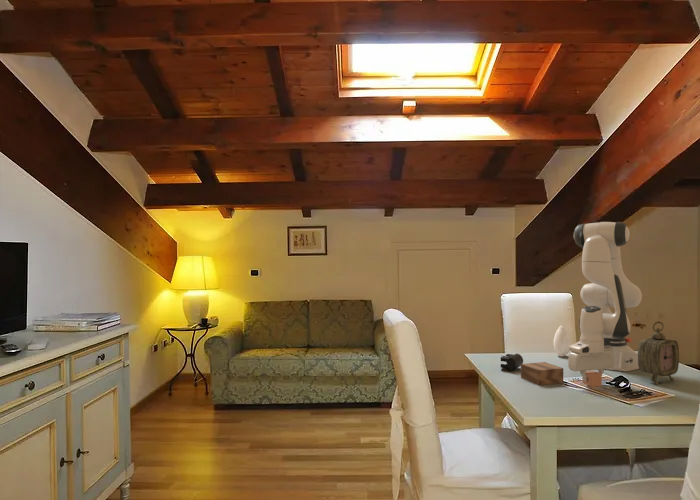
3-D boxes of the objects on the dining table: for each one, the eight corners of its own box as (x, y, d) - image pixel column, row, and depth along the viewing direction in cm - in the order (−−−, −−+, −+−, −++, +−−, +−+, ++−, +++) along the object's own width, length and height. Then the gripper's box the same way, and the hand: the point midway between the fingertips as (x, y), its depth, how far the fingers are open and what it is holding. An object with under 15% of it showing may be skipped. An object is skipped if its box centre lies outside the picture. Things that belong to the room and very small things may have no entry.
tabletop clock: (657, 386, 205) (657, 324, 205) (636, 381, 213) (635, 321, 213) (679, 381, 212) (678, 321, 212) (657, 377, 220) (657, 318, 220)
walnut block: (544, 375, 223) (544, 361, 223) (563, 382, 212) (563, 368, 212) (520, 377, 220) (520, 363, 220) (538, 385, 209) (538, 370, 208)
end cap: (515, 373, 229) (515, 358, 229) (500, 370, 233) (500, 355, 233) (523, 368, 237) (523, 354, 237) (508, 366, 241) (508, 352, 241)
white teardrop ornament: (572, 358, 258) (572, 322, 257) (557, 358, 258) (556, 322, 257) (566, 354, 265) (566, 320, 265) (551, 354, 265) (550, 320, 265)
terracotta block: (592, 382, 212) (592, 370, 212) (601, 385, 207) (601, 373, 207) (582, 383, 210) (582, 371, 210) (591, 386, 206) (591, 374, 206)
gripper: (606, 343, 215) (606, 376, 215) (565, 346, 209) (565, 380, 209) (618, 346, 208) (618, 380, 209) (576, 349, 203) (576, 384, 203)
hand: (591, 380), depth 209 cm, fingers closed on terracotta block, 5 cm apart
